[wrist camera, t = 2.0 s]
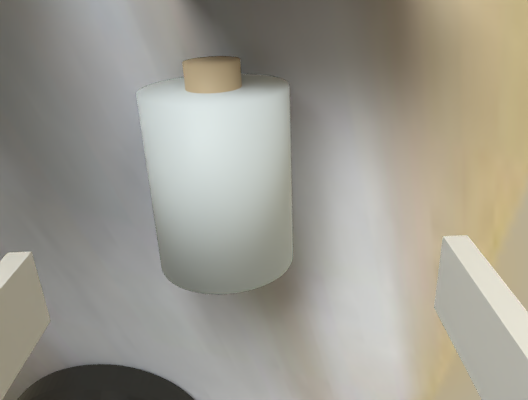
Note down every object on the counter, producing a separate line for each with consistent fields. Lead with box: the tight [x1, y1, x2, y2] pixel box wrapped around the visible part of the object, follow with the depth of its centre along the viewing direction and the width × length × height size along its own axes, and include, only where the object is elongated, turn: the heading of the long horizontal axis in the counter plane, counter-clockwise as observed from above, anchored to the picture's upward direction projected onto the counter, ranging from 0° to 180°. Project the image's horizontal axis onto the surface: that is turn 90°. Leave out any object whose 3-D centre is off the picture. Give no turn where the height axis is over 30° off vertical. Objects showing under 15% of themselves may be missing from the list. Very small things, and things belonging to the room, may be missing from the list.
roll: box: [136, 56, 293, 294], centre depth 25 cm, size 11×7×7 cm, turn 2°
